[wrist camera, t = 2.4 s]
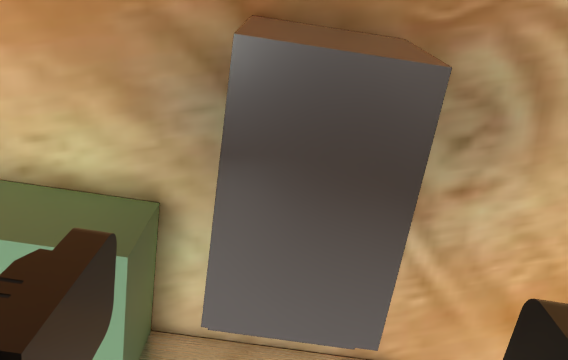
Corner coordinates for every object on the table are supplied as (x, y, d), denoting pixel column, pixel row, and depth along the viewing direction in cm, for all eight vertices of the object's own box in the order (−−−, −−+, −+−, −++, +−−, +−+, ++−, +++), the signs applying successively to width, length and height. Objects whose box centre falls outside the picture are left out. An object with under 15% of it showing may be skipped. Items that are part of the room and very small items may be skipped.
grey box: (252, 15, 17) (233, 33, 12) (405, 39, 17) (452, 67, 12) (219, 281, 21) (194, 383, 16) (346, 299, 21) (363, 405, 16)
